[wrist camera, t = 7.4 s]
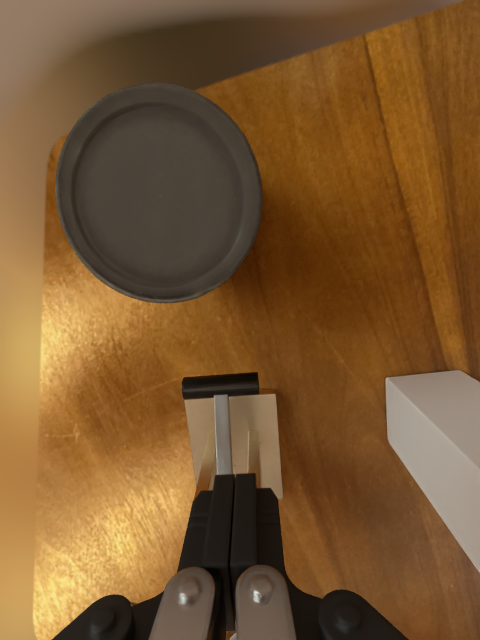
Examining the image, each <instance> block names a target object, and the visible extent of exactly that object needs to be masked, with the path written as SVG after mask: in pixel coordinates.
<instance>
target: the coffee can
mask: <svg viewBox="0 0 480 640" xmlns="http://www.w3.org/2000/svg"><path fill="white" fill-rule="evenodd" d="M262 198H263V195H262V183H261V177H260V173H259V169H258V165H257V162H256V159H255V156H254V154H253V151H252V149H251V147H250V145H249V143H248V141H247V139H246V137H245V135H244V134H243V132H242V131H241V130H240V128H239V127H238V125H237V124H236V123H235V122H234V121H233V120H232V118H231V117H230V116H229V115H228V114H227V113H226V112H224V111H223V110H222V109H221V108H220V107H219V106H217V105H216V104H215V103H213V102H212V101H210V100H209V99H207V98H205V97H204V96H202V95H200V94H198V93H196V92H193V91H192V90H189V89H186V88H183V87H180V86H177V85H172V84H165V83H146V84H138V85H133V86H129V87H126V88H122V89H119V90H117V91H115V92H113V93H110V94H108V95H106V96H105V97H103V98H102V99H100V100H99V101H97V102H96V103H95V104H94V105H92V106H91V107H90V108H89V109H88V110H87V111H86V112H85V113H84V114H83V115H82V116H81V117H80V118H79V120H78V121H77V123H76V124H75V125H74V127H73V128H72V130H71V131H70V133H69V135H68V136H67V138H66V141H65V143H64V146H63V148H62V151H61V154H60V158H59V162H58V166H57V173H56V203H57V208H58V213H59V218H60V221H61V225H62V228H63V230H64V233H65V235H66V237H67V239H68V241H69V243H70V245H71V247H72V249H73V250H74V252H75V253H76V255H77V256H78V258H79V259H80V260H81V262H82V263H83V264H84V265H85V267H86V268H87V269H88V270H89V271H90V272H91V273H92V274H93V275H94V276H96V277H97V278H98V279H99V280H100V281H102V282H103V283H104V284H106V285H107V286H109V287H111V288H112V289H114V290H115V291H117V292H119V293H121V294H124V295H126V296H129V297H131V298H134V299H137V300H141V301H146V302H152V303H177V302H184V301H188V300H192V299H195V298H198V297H200V296H203V295H205V294H206V293H208V292H210V291H212V290H214V289H215V288H217V287H218V286H220V285H221V284H223V283H224V282H225V281H226V280H227V279H229V278H230V277H231V276H232V275H233V273H234V272H235V271H236V270H237V269H238V268H239V267H240V265H241V264H242V263H243V261H244V260H245V258H246V256H247V255H248V253H249V251H250V249H251V247H252V245H253V242H254V240H255V238H256V235H257V232H258V228H259V224H260V220H261V214H262Z"/></svg>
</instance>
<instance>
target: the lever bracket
mask: <svg viewBox="0 0 480 640" xmlns="http://www.w3.org/2000/svg"><path fill="white" fill-rule="evenodd" d="M259 393H260V394H259V395H251V396H237V397H229V402H230V422H231V442H232V462H233V474H235V477H236V474H241V473H256V483H257V488H271V489H272V490H273V492H274V493H275V495H276V497H277V498H278V499H283V488H282V474H281V460H280V446H279V433H278V419H277V405H276V393H275V389H264V390H259ZM184 401H185V409H186V416H187V423H188V431H189V438H190V445H191V452H192V460H193V467H194V474H195V482H196V492H195V497H194V500H195V498H196V497H197V496H198V494H199V493H200V491H206V490H213V485H214V478H215V475H217V464H216V436H215V409H214V398H208V399H193V400H184Z"/></svg>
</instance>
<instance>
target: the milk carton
mask: <svg viewBox="0 0 480 640" xmlns="http://www.w3.org/2000/svg"><path fill="white" fill-rule="evenodd" d="M385 384H386V412H387V437H388V442H389V443H390V445H391V446H392V448H393V449H394V451H395V452H396V453H397V455H398V456H399V458H400V459H401V461H402V462H403V464H404V465H405V466H406V468H407V469H408V471H409V472H410V474H411V475H412V477H413V478H414V479H415V481H416V482H417V484H418V485H419V487H420V488H421V489H422V491H423V492H424V494H425V495H426V497H427V498H428V500H429V501H430V502H431V504H432V505H433V507H434V508H435V510H436V511H437V513H438V514H439V515H440V517H441V518H442V520H443V521H444V523H445V524H446V526H447V527H448V528H449V530H450V531H451V533H452V534H453V536H454V537H455V538H456V540H457V541H458V543H459V544H460V546H461V547H462V549H463V550H464V551H465V553H466V554H467V556H468V557H469V559H470V560H471V562H472V563H473V564H474V566H475V567H476V569H477V570H478V571H479V573H480V382H479V381H477V380H475V379H474V378H472V377H471V376H469V375H467V374H466V373H464V372H462V371H460V370H454V371H445V372H435V373H426V374H416V375H407V376H397V377H388V378H386V380H385Z"/></svg>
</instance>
